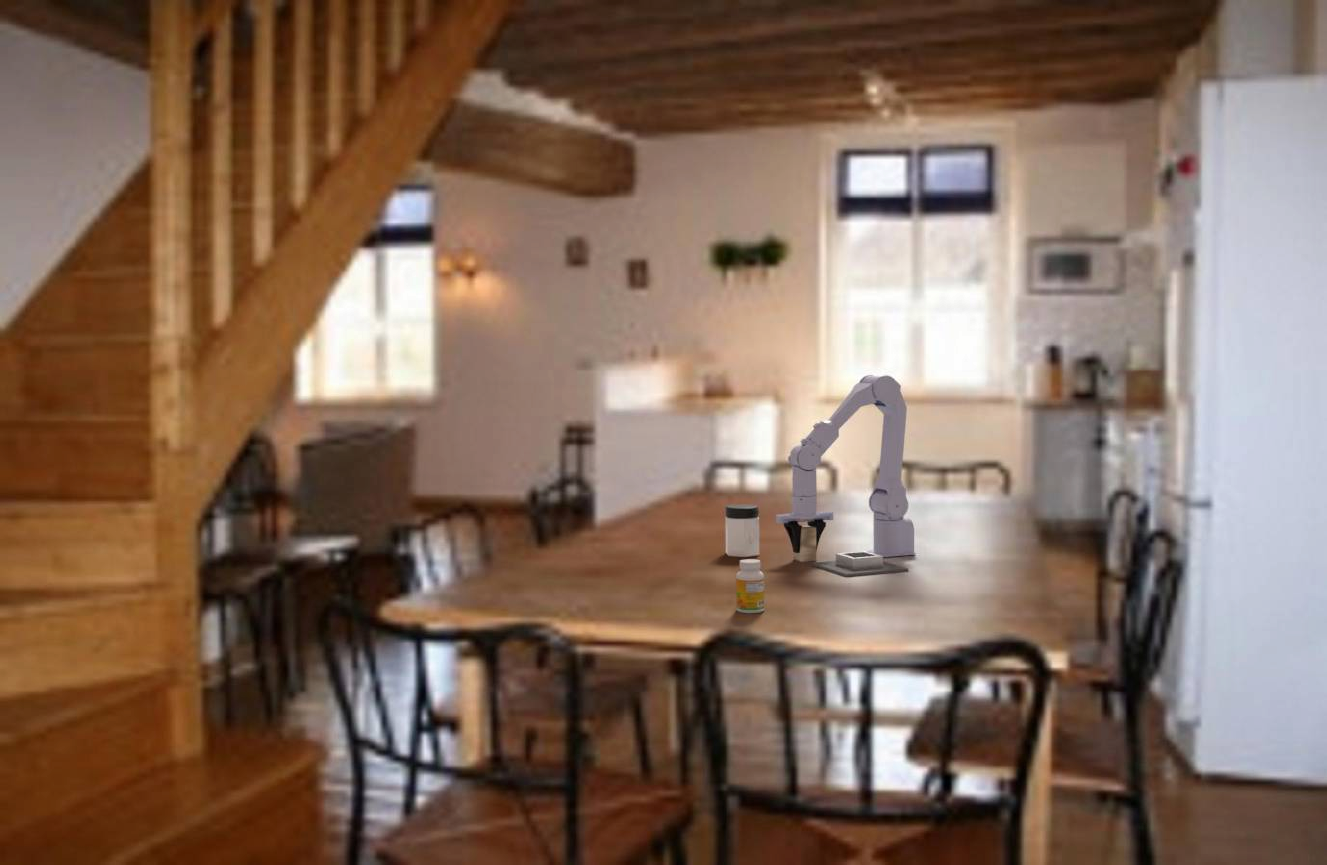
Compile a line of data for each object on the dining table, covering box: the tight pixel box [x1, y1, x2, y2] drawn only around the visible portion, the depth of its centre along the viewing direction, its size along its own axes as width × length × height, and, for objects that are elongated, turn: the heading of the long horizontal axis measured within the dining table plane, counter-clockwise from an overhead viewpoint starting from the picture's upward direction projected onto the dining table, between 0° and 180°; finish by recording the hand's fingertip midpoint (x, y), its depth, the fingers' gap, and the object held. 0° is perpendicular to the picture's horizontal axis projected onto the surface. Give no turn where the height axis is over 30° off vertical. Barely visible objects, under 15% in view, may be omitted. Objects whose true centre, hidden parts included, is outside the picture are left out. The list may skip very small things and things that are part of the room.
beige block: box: [793, 524, 817, 563], centre depth 280 cm, size 4×4×8 cm
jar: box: [724, 503, 760, 558], centre depth 289 cm, size 9×8×12 cm
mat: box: [811, 560, 909, 578], centre depth 268 cm, size 16×16×1 cm
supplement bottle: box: [735, 558, 765, 614], centre depth 225 cm, size 5×5×10 cm
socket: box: [835, 550, 884, 570], centre depth 268 cm, size 8×8×2 cm
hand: (804, 551), depth 280 cm, fingers closed on beige block, 4 cm apart
